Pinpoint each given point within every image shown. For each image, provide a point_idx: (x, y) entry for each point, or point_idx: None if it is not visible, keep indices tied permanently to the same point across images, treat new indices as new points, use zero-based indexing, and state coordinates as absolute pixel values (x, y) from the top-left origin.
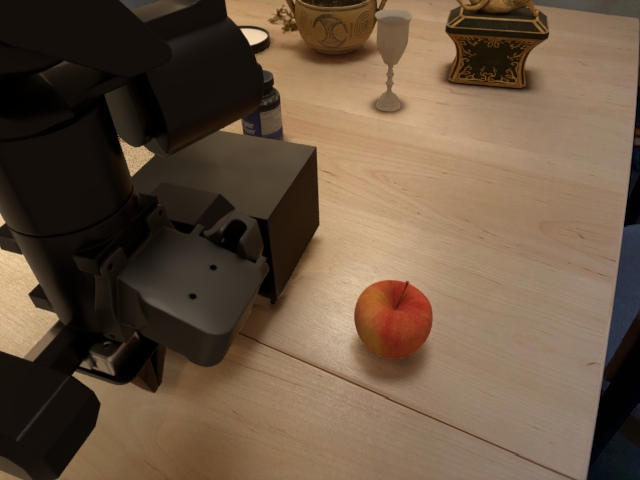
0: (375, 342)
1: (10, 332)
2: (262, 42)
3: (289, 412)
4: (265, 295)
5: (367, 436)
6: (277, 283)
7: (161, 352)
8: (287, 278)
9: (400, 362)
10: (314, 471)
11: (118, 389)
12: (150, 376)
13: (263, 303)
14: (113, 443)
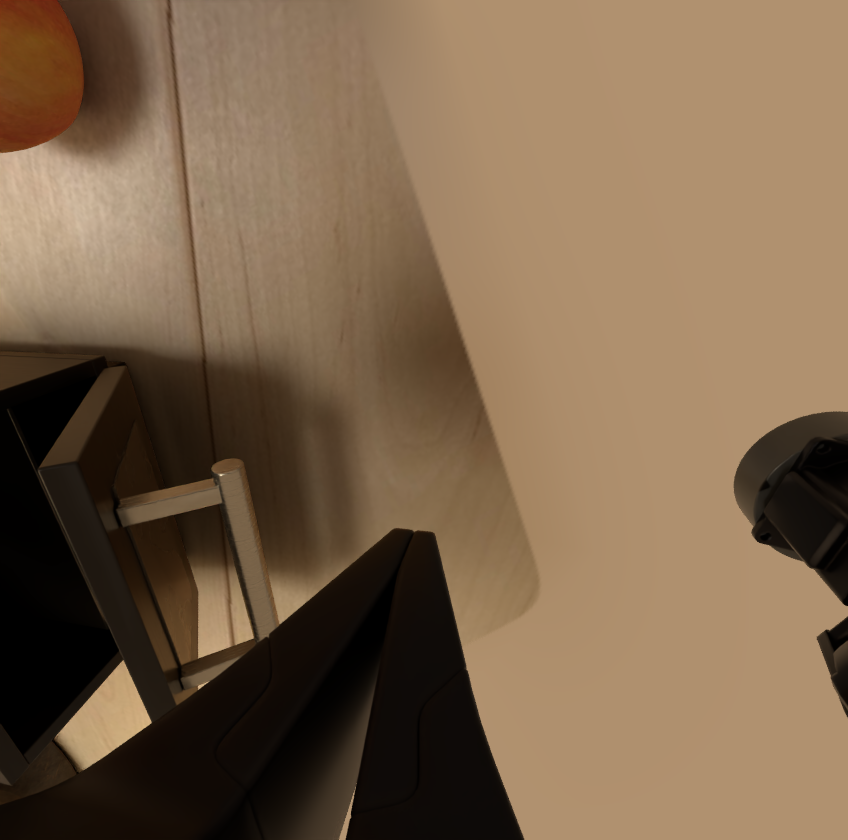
0: (25, 42)
1: None
2: None
3: (299, 233)
4: None
5: (271, 26)
6: (55, 368)
7: (308, 640)
8: (45, 356)
9: (77, 16)
10: (386, 122)
11: (383, 530)
12: (420, 615)
13: (113, 376)
14: (463, 497)
